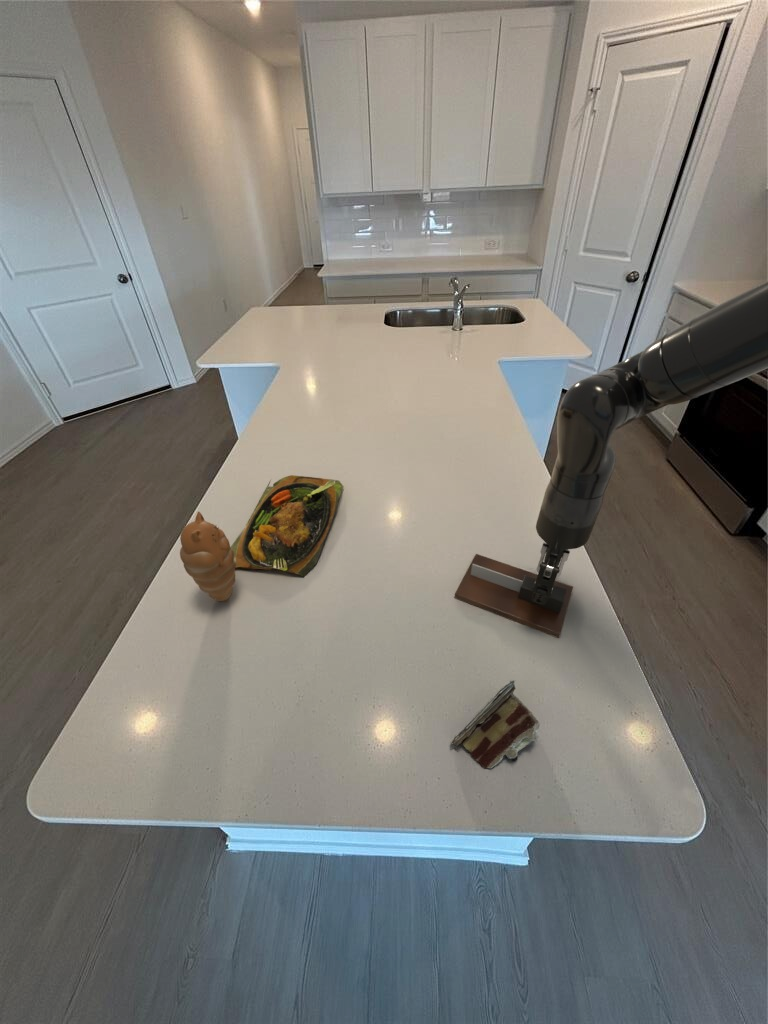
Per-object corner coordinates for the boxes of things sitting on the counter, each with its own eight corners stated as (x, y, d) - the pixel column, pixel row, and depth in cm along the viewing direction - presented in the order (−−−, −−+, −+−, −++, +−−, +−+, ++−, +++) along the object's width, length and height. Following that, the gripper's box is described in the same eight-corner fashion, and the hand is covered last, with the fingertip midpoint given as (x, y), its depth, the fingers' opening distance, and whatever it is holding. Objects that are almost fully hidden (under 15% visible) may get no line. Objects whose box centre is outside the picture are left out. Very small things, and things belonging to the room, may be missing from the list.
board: (571, 590, 78) (573, 586, 77) (558, 638, 71) (560, 634, 70) (475, 557, 85) (475, 553, 84) (454, 597, 78) (454, 593, 77)
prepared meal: (310, 565, 79) (217, 553, 82) (312, 578, 82) (221, 567, 84) (346, 479, 101) (272, 472, 103) (347, 491, 103) (274, 484, 106)
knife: (563, 600, 75) (567, 589, 73) (559, 613, 73) (563, 602, 71) (473, 569, 81) (475, 557, 79) (468, 580, 79) (469, 568, 77)
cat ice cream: (244, 612, 76) (216, 537, 65) (197, 619, 76) (161, 544, 64) (248, 575, 83) (223, 501, 71) (205, 580, 82) (173, 506, 71)
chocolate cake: (485, 795, 55) (555, 736, 52) (445, 746, 57) (510, 687, 54) (499, 763, 63) (560, 710, 60) (464, 721, 66) (521, 669, 63)
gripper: (588, 549, 56) (558, 624, 67) (604, 488, 66) (575, 562, 76) (530, 531, 59) (510, 605, 70) (553, 475, 68) (532, 548, 79)
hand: (544, 583), depth 73 cm, fingers open, 8 cm apart
